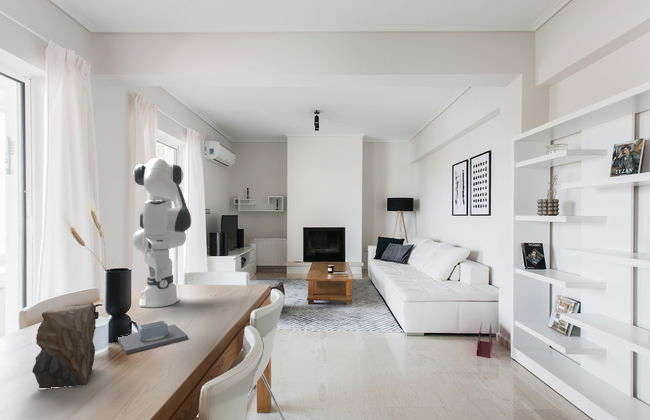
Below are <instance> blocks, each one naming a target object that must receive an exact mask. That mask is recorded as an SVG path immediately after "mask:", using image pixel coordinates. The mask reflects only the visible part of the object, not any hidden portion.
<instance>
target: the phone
mask: <svg viewBox="0 0 650 420" xmlns="http://www.w3.org/2000/svg"><path fill="white" fill-rule="evenodd" d="M168 326H169V325H168V323H167V322H166V320H160V321H154V322H151V323H150V322H149V323H145V324H140V325H139V324H138V325H137V332H138V338H139V339H140V341H142V340H146V339H151V338H155V337H160V336H164V335H168Z"/></svg>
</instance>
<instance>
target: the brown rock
mask: <svg viewBox="0 0 650 420" xmlns="http://www.w3.org/2000/svg"><path fill="white" fill-rule="evenodd" d="M94 312H95V304H94V302H90V303H89V302H88V303H83V304H73V303H72V304H70V305H66V306H65V307H62V308H58V309H56V310H47V311H44V312H42V313H41V317H42V321H41V323H40V325H39V326H38V328H37V330H36V331H37V333H36V337H35V340H36V342H35V344H36V345H37V346H38V347H39V348H40V349H41V350H40V352H39V353H38V354H37V355H36V356H35V363H34V365H33V367H32V370H31V371H32V373H33V374H34V376H35V379H36V383H37V384H38V389H39V388H51V387H64V386H75V387H78V386H77V385H81V386H86V384H87V385H88V382H89V379H90V376H91V373H92V370H93V367H94V366H93V365H94V361H95V354H96V349H95V348H96V346H95V344H94V337H95V332H96V328H97V327H96V316H95V313H94ZM64 388H65V387H64Z"/></svg>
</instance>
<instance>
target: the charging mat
mask: <svg viewBox="0 0 650 420" xmlns="http://www.w3.org/2000/svg"><path fill="white" fill-rule="evenodd" d="M129 334H130V335H128V334H127V335H128V336H123V335H121V336H122V337H118V336H117V337H118V340H117V342H118V344H119V345H120V347H121V349H122V351H123V352H124V354H125V355H129V354H133V353H137V352H140V351H144V350H147V349H152V348H157V347H160V346H161V347H162V346H165V345H168V344H172V343H177V342H180V341H185V340H188V339H189V336H188V334H186V332H185V331H183V330H182V329H181V328H179V327H178V326H177V324H170V325H168V335H164V336H160V337H155V338H151V339H146V340H142V341H140V339H139V338H138V331H137V332H131V333H129Z"/></svg>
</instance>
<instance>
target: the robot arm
mask: <svg viewBox="0 0 650 420" xmlns="http://www.w3.org/2000/svg"><path fill="white" fill-rule="evenodd" d="M132 177H133V180H134V181H135V183H136V184H137V185H138V186H144V188H145V190H146V191H147V200H145V202H144V205H143V210H142V211H141V212H140V213H139V227H140V228H141V229H138V230H136V231H135V232H134V233H133V236H132V238H131V240H132V244H133V246H134V247H135V249H136V250H139V252H141V253H142V254H143V255H144V263H145V264H146V265H147V271H148V274H147V275H148V276H147V278H146V284H147V285H146V287H145V288H144V290H142V291H141V292H140V296H141V298H139V307H140V308H160V307H166V306H171V305H174V304H175V303H177V302H179V301H181V299H180V298H179V297H178V294H177V292H178V291H177V285H176V284H174V275H173V261H172V259H171V258H170V250H171V249H174V248H178V247H181V246H183V245H184V244H185V243H186V240H187V234H186V231H187V230H189V228H191V225H192V215H191V212H190V210H189V209H188V206H187V203H186V199H185V198H184V197H185V196H184V195H183V191H182V188H181V187H180V185H181V183H182V181H183V180H184V172H183V169H182V167H181V165H177V164H168V162H166V160H164V159H162V158H157V157H156V158H152V159H151V160H149V161H148V162H147V163H146V164H145V163H140V164H139V163H137V165H135V166H134V168H133V170H132ZM173 204H174V207H173Z"/></svg>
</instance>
